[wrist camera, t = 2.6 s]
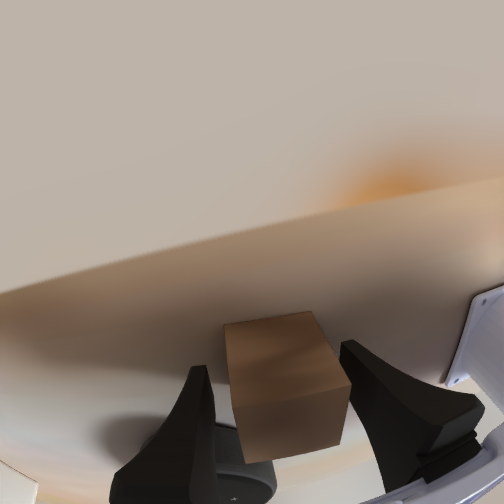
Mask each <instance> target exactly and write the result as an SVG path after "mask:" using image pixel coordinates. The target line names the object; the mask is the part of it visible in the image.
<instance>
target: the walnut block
mask: <svg viewBox="0 0 504 504" xmlns="http://www.w3.org/2000/svg"><path fill="white" fill-rule="evenodd" d="M224 331H225V342H226V353H227V363H228V373H229V383H230V392H231V402H232V409H233V414H234V418H235V422H236V427H237V431H238V435H239V439H240V443H241V447H242V451H243V455H244V459H245V463H246V464H249V463H256V462H262V461H269V460H275V459H280V458H286V457H291V456H296V455H300V454H305V453H309V452H313V451H318V450H322V449H325V448H329V447H333V446H337V445H340V440H341V436H342V431H343V427H344V422H345V417H346V412H347V407H348V402H349V396H350V391H351V385H352V384H351V382H350V381H349V379H348V377H347V375H346V373H345V372H344V370H343V368H342V366H341V364H340V362H339V361H338V359H337V357H336V355H335V353H334V352H333V350H332V348H331V346H330V344H329V343H328V341H327V339H326V337H325V335H324V334H323V332H322V330H321V328H320V327H319V325H318V323H317V321H316V319H315V318H314V316H313V314H312V312H311V311H308V312H302V313H296V314H290V315H284V316H278V317H272V318H266V319H259V320H253V321H246V322H239V323H232V324H224Z"/></svg>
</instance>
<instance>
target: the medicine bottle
mask: <svg viewBox="0 0 504 504" xmlns="http://www.w3.org/2000/svg"><path fill="white" fill-rule="evenodd" d="M37 490H38V483H37V482H36V481H34V480H32V479H30V478H28V477H26V476H25V475H23V474H21V473H19V472H18V471H16V470H14V469H13V468H11V467H9V466H8V465H6V464H4V463H3V462H1V461H0V504H34V503H35V500H36V495H37Z"/></svg>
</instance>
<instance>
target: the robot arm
mask: <svg viewBox="0 0 504 504" xmlns="http://www.w3.org/2000/svg"><path fill="white" fill-rule="evenodd" d="M339 362H340V364H341V366H342V368H343V370H344V372H345V373H346V375H347V377H348V379H349V381H350V382H351V384H352V385H351V391H350V396H349V400H350V402H351V404H352V406H353V408H354V410H355V411H356V413H357V415H358V417H359V419H360V421H361V422H362V424H363V426H364V428H365V430H366V433H367V435H368V438H369V440H370V443H371V446H372V448H373V451H374V454H375V457H376V460H377V463H378V466H379V470H380V473H381V476H382V480H383V484H384V488H385V492H386V494H384V495H382V496H379V497H377V498H374V499H371V500H369V501H366V502H363V503H360V504H472V503H474V502H475V501H477V500H478V499H479V498H481V497H482V496H484V495H485V494H486V493H487V492H489V491H490V490H491V489H493V488H494V487H495V486H497V485H498V484H499V483H500V482H502V481H503V480H504V422H503V423H502V424H501V425H499V426H498V427H497V428H495V429H494V430H492V431H491V432H490V433H489V434H488V435H487V436H486V438H485V439H484V440H483V443H481V444H479V443H478V441H477V440H476V439H475V437H476V436H477V433H476V432H475V430H474V429H475V427H476V426H477V424H478V422H479V421H480V419H481V418H482V416H483V414H484V410H485V407H484V405H483V404H482V403H481V401H480V400H479V399H478V398H477V397H476V396H475V395H474V394H468V393H461V392H455V391H451V390H447V389H443V388H440V387H436V386H433V385H430V384H428V383H425V382H422V381H420V380H418V379H415V378H413V377H411V376H409V375H407V374H405V373H403V372H401V371H399V370H398V369H396V368H394V367H393V366H391V365H389V364H388V363H386V362H385V361H383V360H382V359H380V358H379V357H377V356H376V355H374V354H373V353H371V352H370V351H369V350H367V349H366V348H364V347H363V346H362V345H360V344H359V343H358V342H356V341H355V340H353V339H352V340H348V341H344V342H341V349H340V359H339ZM469 377H471V378H472V379H473V380H474V381H475V382H476V383H477V384H478V386H479V387H480V388H481V389H482V390H483V391H484V392H485V393H486V395H487V396H488V397H489V398H490V399H491V400H492V401H493V403H494V404H495V405H496V406H497V407H498V408H499V410H500V411H501V412H502V413H503V414H504V285H503V286H501V287H498V288H496V289H493V290H490V291H488V292H485V293H482V294H479V295H477V296H476V297H475V298H474V299H473V301H472V303H471V307H470V311H469V314H468V318H467V321H466V325H465V328H464V331H463V334H462V338H461V341H460V344H459V347H458V349H457V352H456V355H455V358H454V361H453V363H452V366H451V369H450V371H449V374H448V376H447V379H446V381H445V385H446V387H448V388H449V387H451V386H454V385H456V384H458V383H460V382H462V381H464V380H465V379H467V378H469ZM215 419H216V414H215V403H214V395H213V391H212V387H211V383H210V379H209V375H208V372H207V368H206V365H201V366H192V367H191V368H190V371H189V374H188V377H187V380H186V382H185V384H184V387H183V389H182V391H181V393H180V395H179V397H178V400H177V402H176V403H175V405H174V407H173V409H172V410H171V412H170V414H169V416H168V417H167V419H166V420H165V422H164V423H163V425H162V426H161V428H160V429H159V431H158V432H157V433H156V434H155V436H154V437H153V438H152V439H151V441H150V442H149V443H148V444H147V445H146V446H145V447H144V448H143V449H142V450H141V451H140V452H139V453H138V454H137V455H136V456H135V457H134V458H133V459H132V460H131V461H130V462H129V463H127V464H126V465H125V466H124V467H122V468H121V469H120V470H119V471H117V472H116V473H115V475H114V478H113V481H112V484H111V489H110V496H109V503H110V504H221V503H220V497H219V489H218V482H217V473H216V464H215Z"/></svg>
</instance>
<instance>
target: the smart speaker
mask: <svg viewBox="0 0 504 504" xmlns="http://www.w3.org/2000/svg"><path fill="white" fill-rule="evenodd" d="M154 436H155V435H154ZM154 436H152V437H151V438H149V439H148V440H147V441H146V442H145V443H144V444H143V445H142V447H141V449H140V451H141V450H142V449H143V448H144V447H145V446H146V445H147V444H148V443H149V442H150V441H151V439H152V438H153V437H154ZM215 464H216V473H217V482H218V489H219V497H220V503H221V504H265V503H267V502H268V501H269V500H270V499H271V498H272V497H273V495H274V494H275V492H276V489H277V480H276V476H275V471H274V467H273V462H272V460H269V461H262V462H256V463H249V464H246V463H245V459H244V455H243V451H242V447H241V443H240V439H239V435H238V431H237V430H234V429H230V428H225V427H218V426H215Z"/></svg>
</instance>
